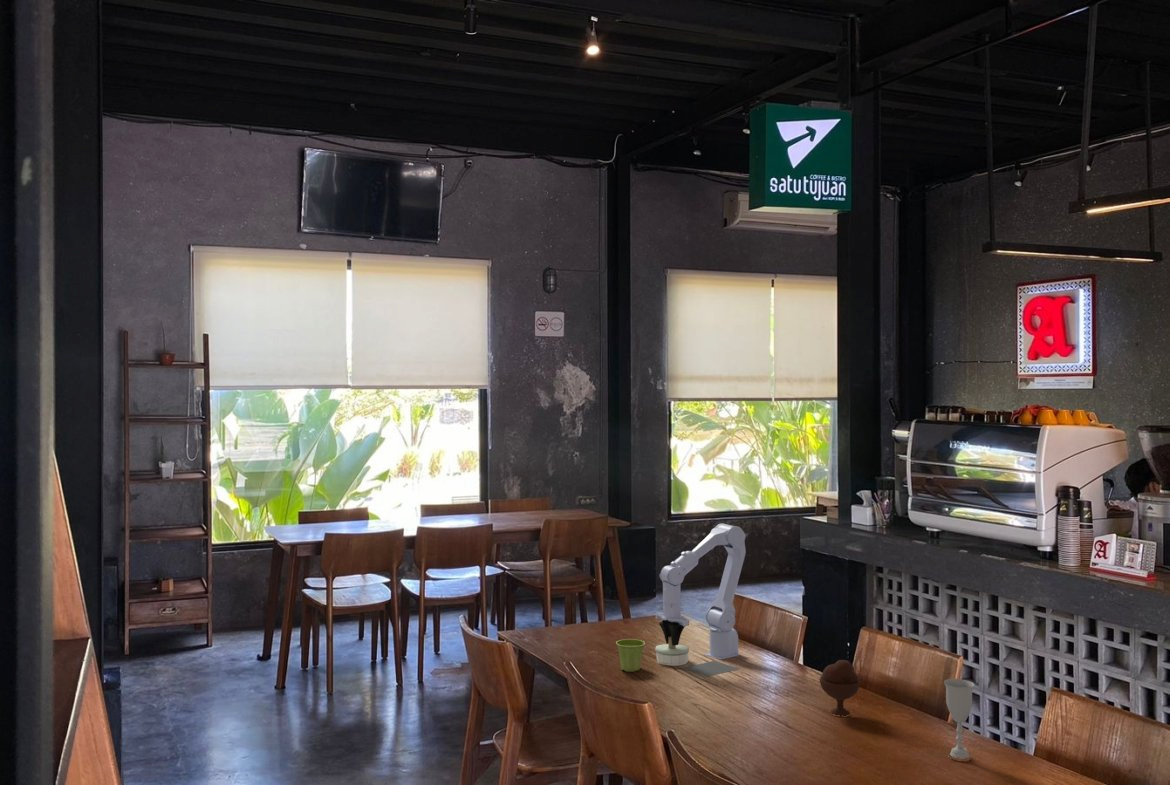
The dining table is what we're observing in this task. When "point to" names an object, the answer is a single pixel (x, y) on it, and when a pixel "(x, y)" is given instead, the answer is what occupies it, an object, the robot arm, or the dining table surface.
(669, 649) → the lid
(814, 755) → the dining table surface
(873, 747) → the dining table surface
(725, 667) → the mat
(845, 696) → the ice cream bowl
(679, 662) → the bowl
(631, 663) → the plant pot
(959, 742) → the chalice
